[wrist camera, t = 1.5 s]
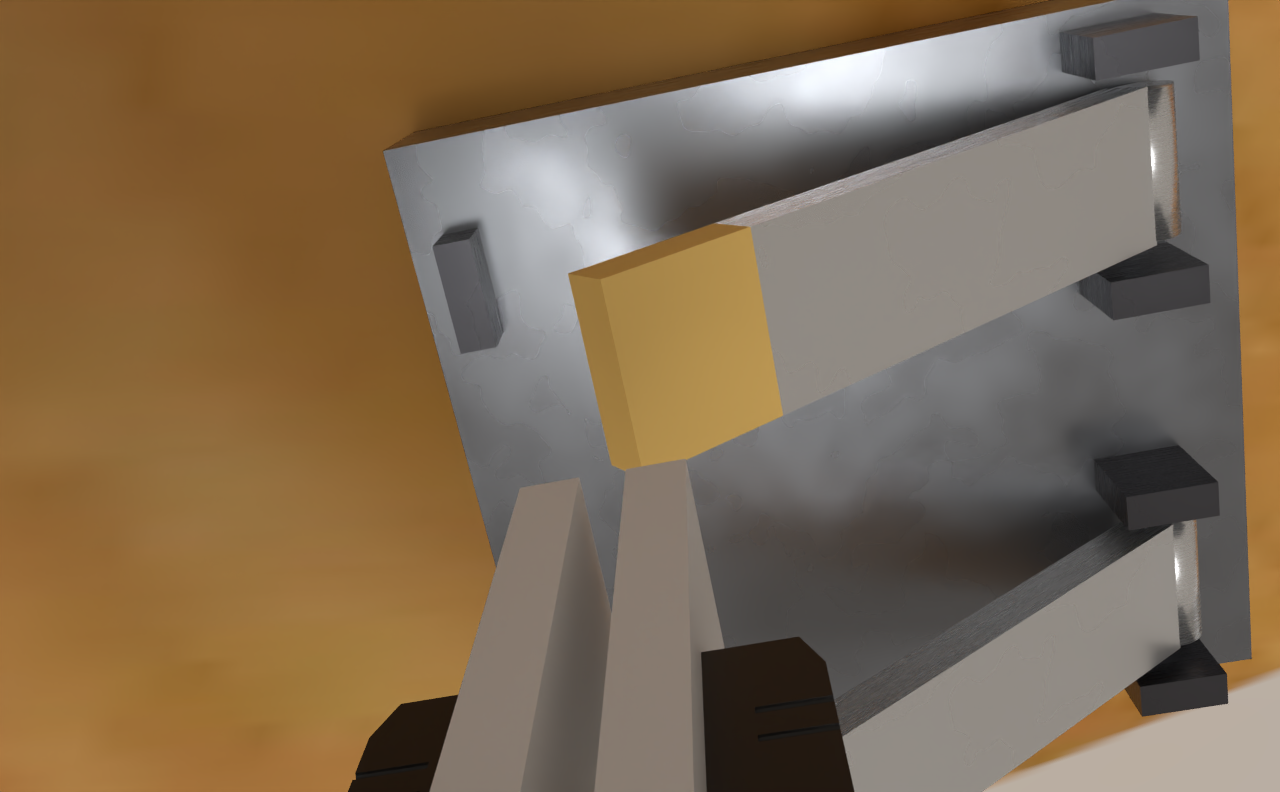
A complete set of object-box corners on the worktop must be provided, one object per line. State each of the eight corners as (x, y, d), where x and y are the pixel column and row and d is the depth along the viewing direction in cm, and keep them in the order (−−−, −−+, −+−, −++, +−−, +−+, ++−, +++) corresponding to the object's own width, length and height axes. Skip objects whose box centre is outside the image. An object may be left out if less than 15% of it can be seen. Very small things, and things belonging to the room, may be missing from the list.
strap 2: (1156, 494, 34) (1208, 508, 33) (1164, 612, 36) (1213, 630, 34) (680, 786, 26) (723, 820, 25) (712, 926, 28) (755, 965, 26)
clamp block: (413, 132, 35) (358, 165, 29) (1164, -24, 33) (1277, -23, 27) (561, 695, 42) (542, 821, 36) (1196, 593, 40) (1293, 708, 34)
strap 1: (1130, 77, 31) (1187, 74, 29) (1139, 228, 32) (1195, 231, 31) (562, 273, 22) (606, 280, 21) (606, 462, 24) (649, 481, 22)
